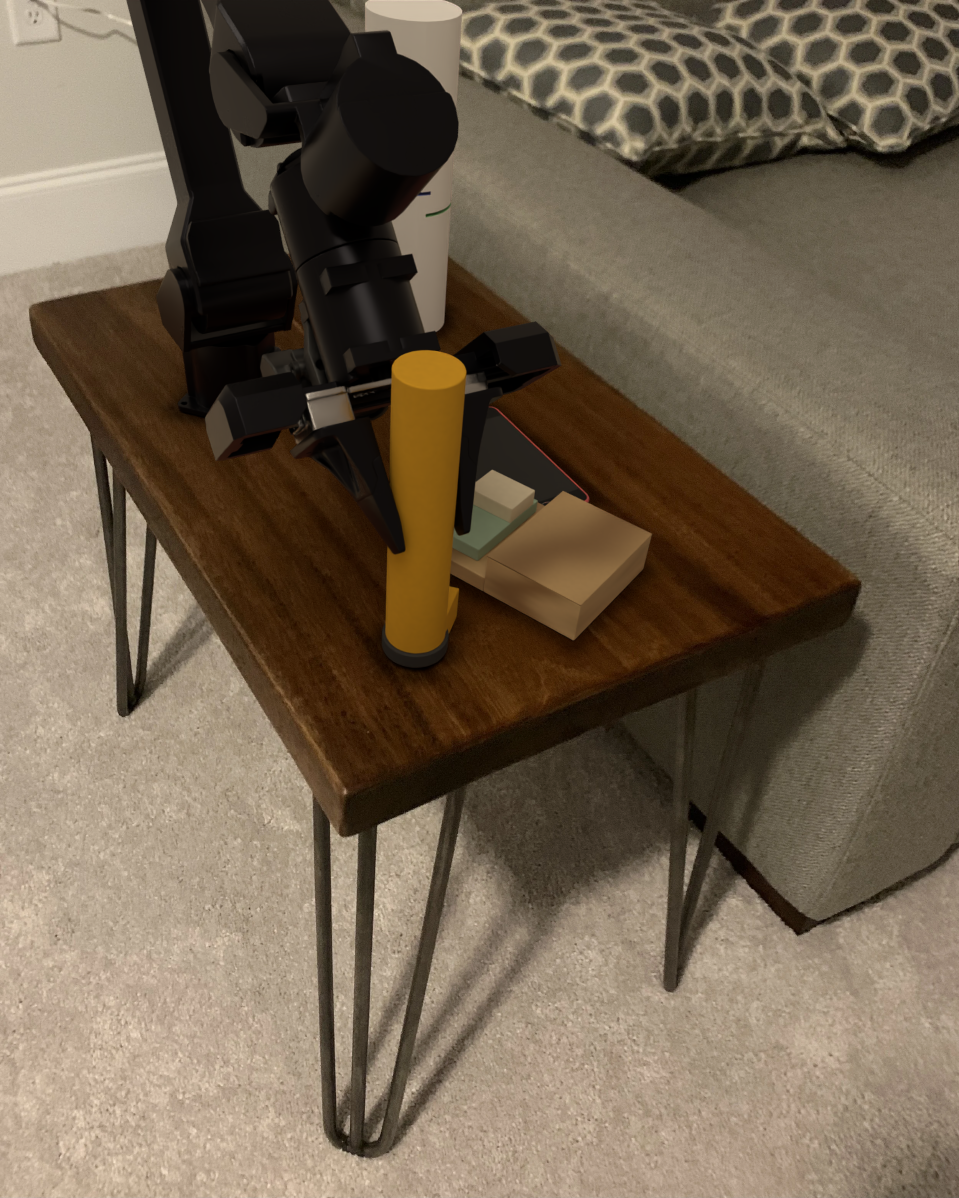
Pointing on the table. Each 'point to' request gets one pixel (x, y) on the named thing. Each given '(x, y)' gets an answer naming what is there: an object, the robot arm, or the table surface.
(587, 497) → the smartphone
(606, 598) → the flat tan slab box
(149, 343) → the table surface
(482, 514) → the two-tone stepped block
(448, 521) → the tall yellow cylinder post
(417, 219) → the cylindrical container
